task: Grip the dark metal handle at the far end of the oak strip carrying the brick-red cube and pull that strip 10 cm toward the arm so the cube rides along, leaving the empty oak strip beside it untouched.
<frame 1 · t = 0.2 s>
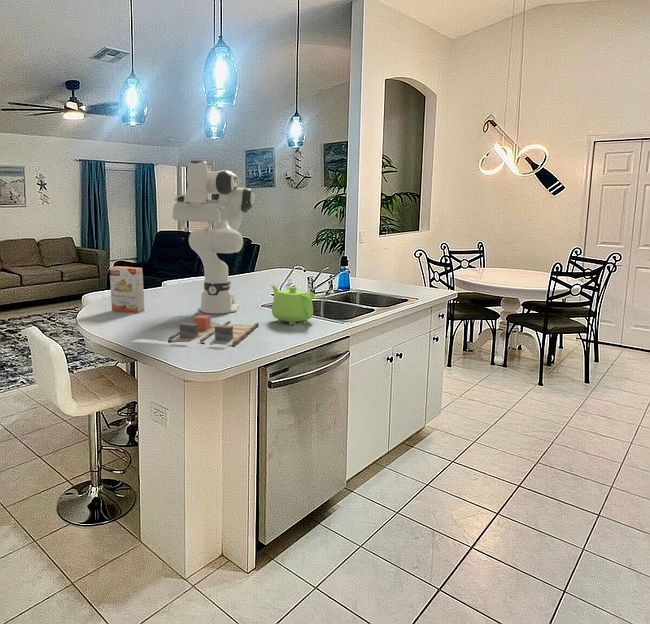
hand: (196, 232, 232), 39 cm above the worktop, tool pointing down, fingers open, 8 cm apart
strip b: (233, 327, 218), point 3 cm above the worktop, slide at 0.0 cm
strip a: (199, 325, 220), point 3 cm above the worktop, slide at 0.0 cm, touching cube
lane rails: (216, 334, 219), on the worktop
teapot: (294, 320, 248), on the worktop
cube: (202, 328, 223), point 1 cm above the worktop, touching strip a
cracker box: (128, 311, 258), on the worktop
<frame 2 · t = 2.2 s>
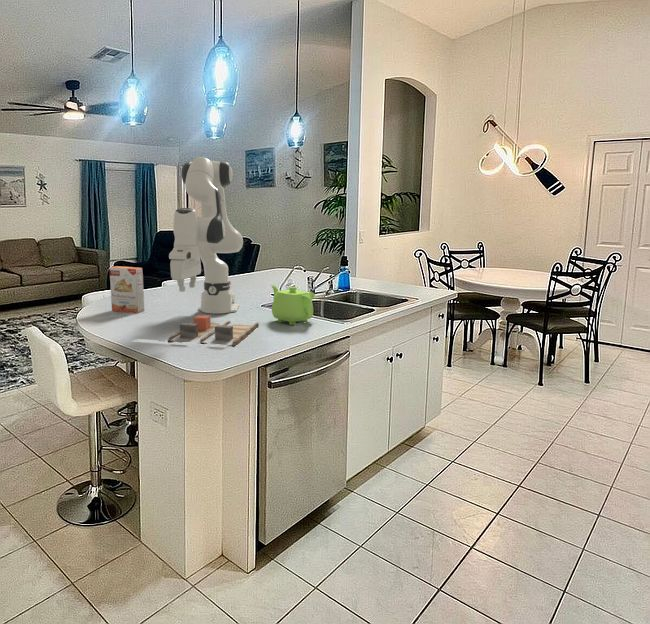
hand: (187, 289, 205), 20 cm above the worktop, tool pointing down, fingers open, 8 cm apart
nothing on the worktop moved.
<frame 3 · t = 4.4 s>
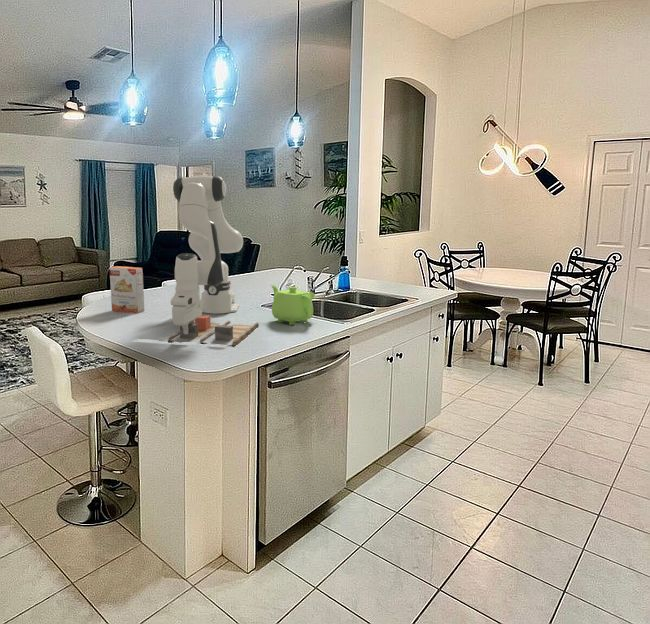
hand: (188, 332, 209), 3 cm above the worktop, tool pointing down, fingers closed on strip a, 3 cm apart
strip a: (199, 325, 220), point 3 cm above the worktop, slide at 0.0 cm, touching cube, gripper
everything else where it was.
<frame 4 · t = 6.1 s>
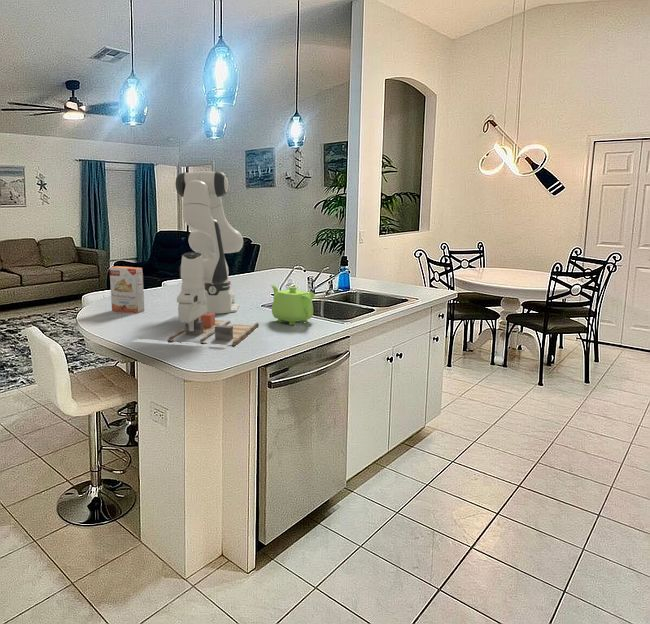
hand: (194, 329, 214), 3 cm above the worktop, tool pointing down, fingers closed on strip a, 3 cm apart
strip a: (204, 322, 225), point 3 cm above the worktop, slide at 5.4 cm, touching cube, gripper
cube: (207, 325, 228), point 1 cm above the worktop, touching strip a
everything else where it was.
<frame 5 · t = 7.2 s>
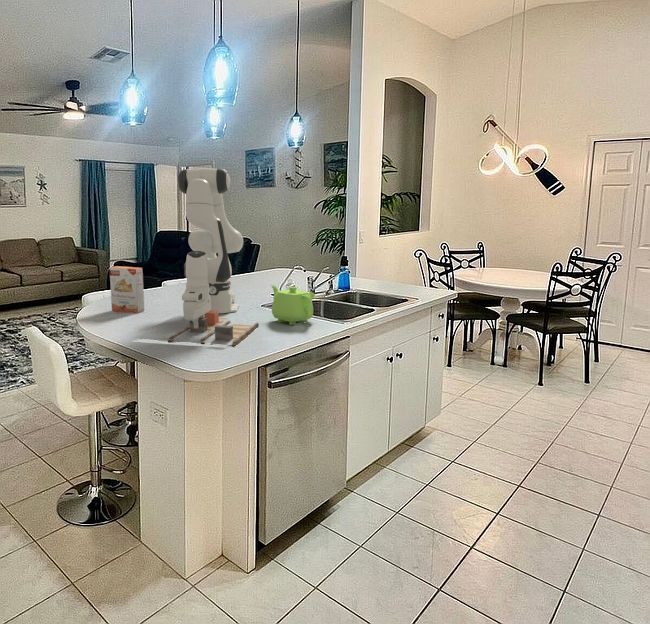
hand: (198, 326, 219), 3 cm above the worktop, tool pointing down, fingers closed on strip a, 3 cm apart
strip a: (208, 320, 229), point 3 cm above the worktop, slide at 10.1 cm, touching cube, gripper
cube: (211, 323, 233), point 1 cm above the worktop, touching strip a
everything else where it was.
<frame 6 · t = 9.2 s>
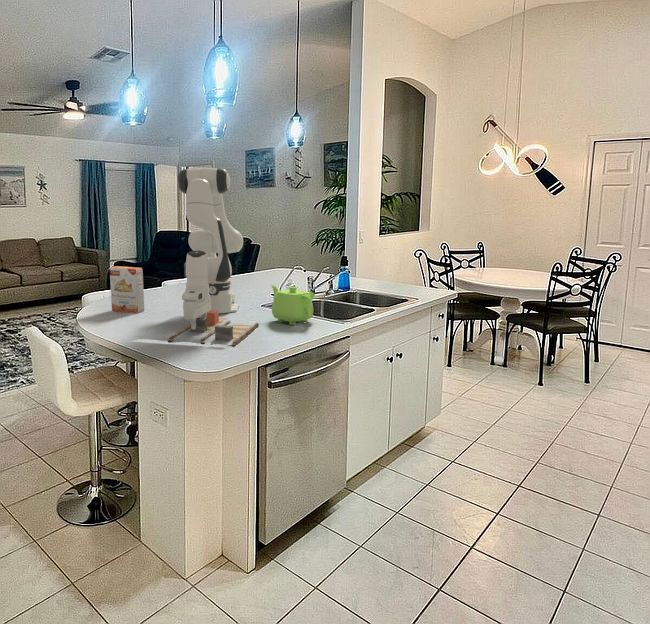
hand: (198, 326, 219), 3 cm above the worktop, tool pointing down, fingers open, 8 cm apart
strip a: (208, 320, 229), point 3 cm above the worktop, slide at 10.1 cm, touching cube
everything else where it was.
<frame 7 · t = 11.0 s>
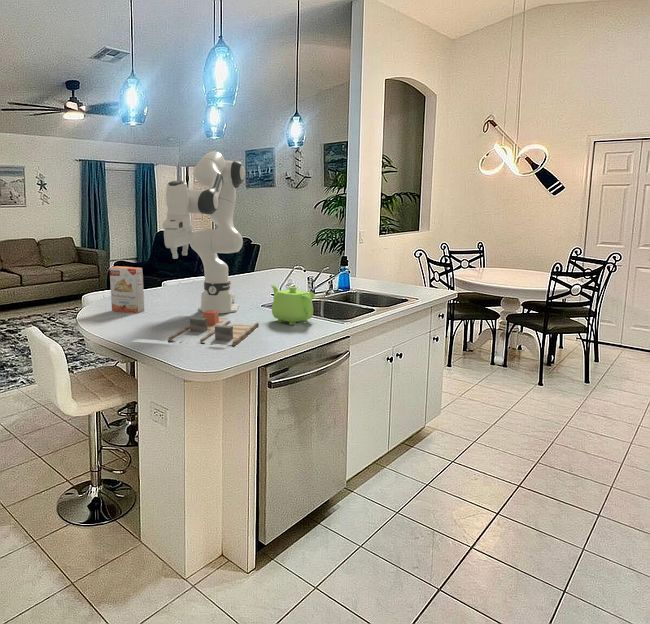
hand: (180, 256, 222), 30 cm above the worktop, tool pointing down, fingers open, 8 cm apart
nothing on the worktop moved.
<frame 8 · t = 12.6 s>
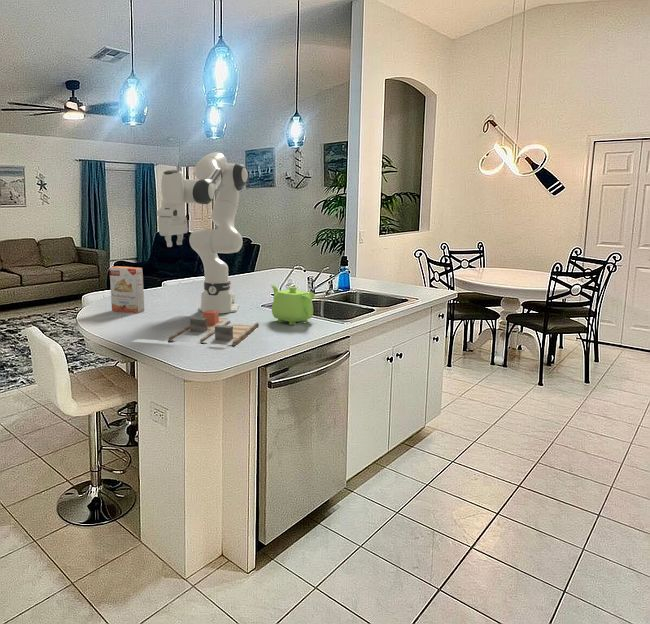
hand: (174, 245, 223), 34 cm above the worktop, tool pointing down, fingers open, 8 cm apart
nothing on the worktop moved.
at the end: strip a slide at 10.1 cm; cube inside the target area (0.1 cm from its centre), point 1.3 cm above the worktop; strip b slide at 0.0 cm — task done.
